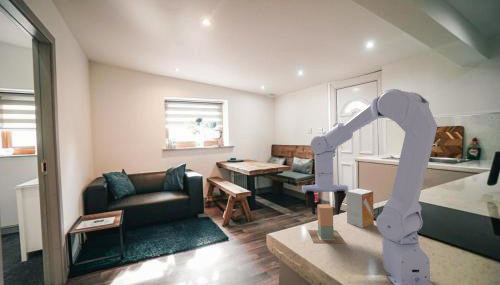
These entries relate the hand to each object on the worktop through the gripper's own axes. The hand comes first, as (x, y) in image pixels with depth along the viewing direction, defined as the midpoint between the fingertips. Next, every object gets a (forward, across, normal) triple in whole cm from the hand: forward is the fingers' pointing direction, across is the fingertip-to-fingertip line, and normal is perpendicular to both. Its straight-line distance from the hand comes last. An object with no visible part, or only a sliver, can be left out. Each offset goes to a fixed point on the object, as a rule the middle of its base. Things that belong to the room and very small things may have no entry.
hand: (325, 213), depth 71 cm
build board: (+8, 0, 0) cm, 9 cm away
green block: (+8, 0, 0) cm, 8 cm away
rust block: (+4, 0, 0) cm, 4 cm away
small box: (+9, -16, -12) cm, 22 cm away
